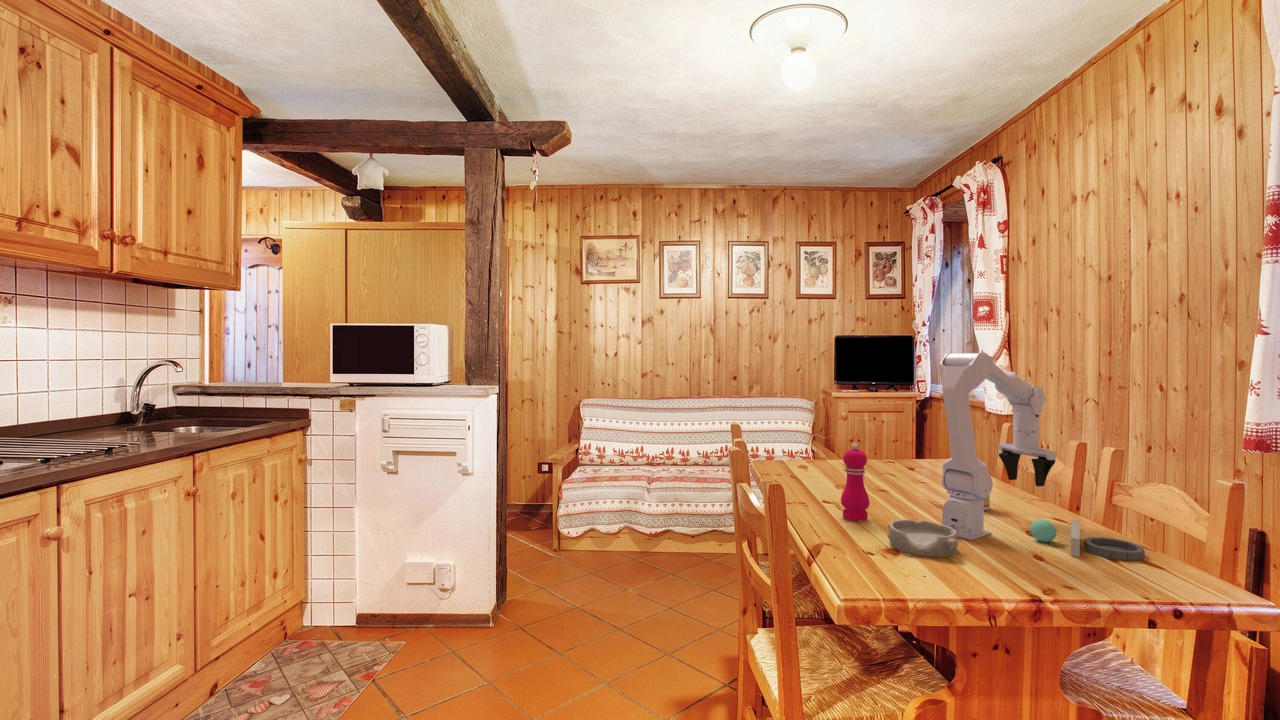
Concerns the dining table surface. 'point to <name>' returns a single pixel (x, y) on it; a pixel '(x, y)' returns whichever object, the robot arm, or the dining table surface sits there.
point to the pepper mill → (855, 486)
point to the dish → (923, 538)
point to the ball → (1043, 530)
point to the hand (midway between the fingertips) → (1025, 482)
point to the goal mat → (1114, 548)
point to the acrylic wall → (1075, 538)
